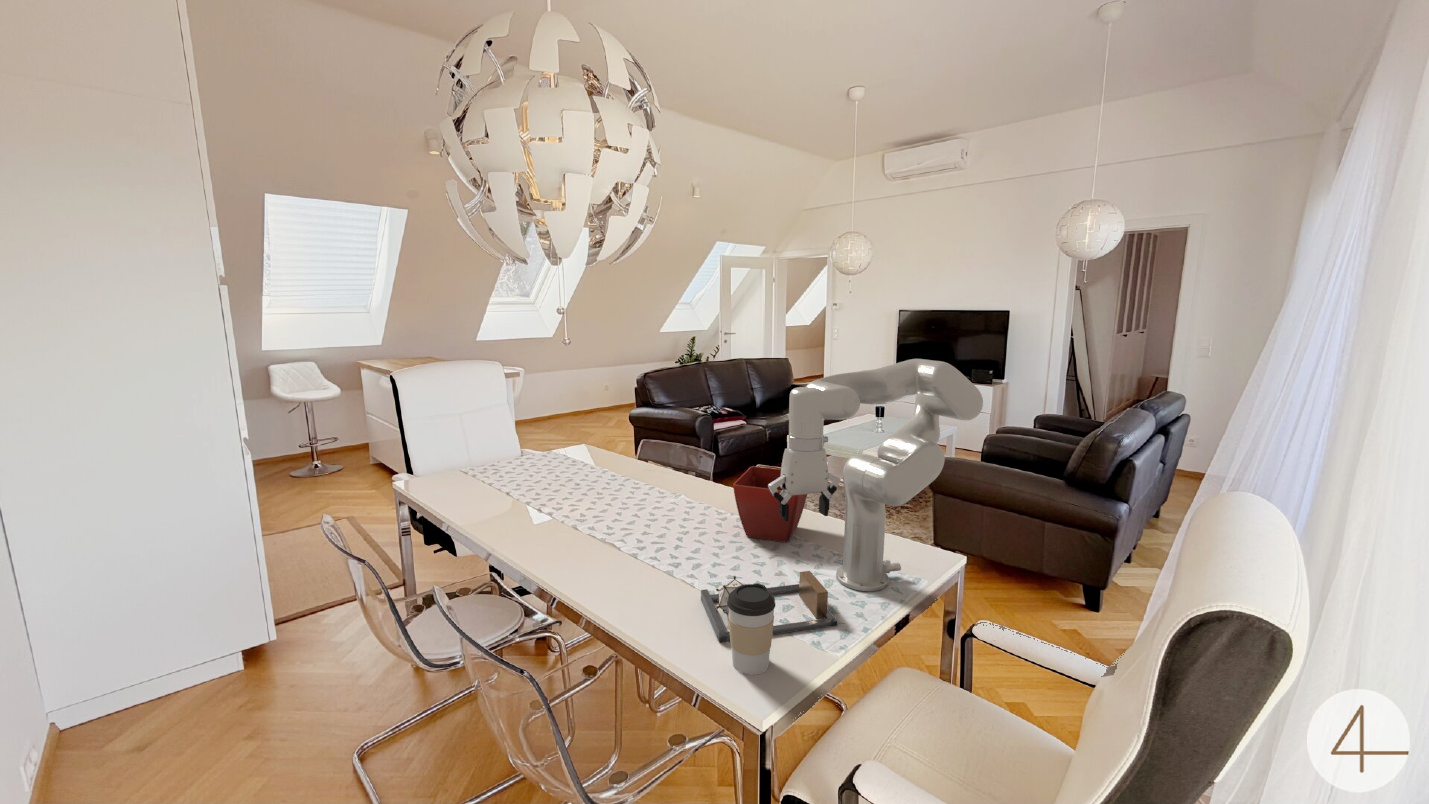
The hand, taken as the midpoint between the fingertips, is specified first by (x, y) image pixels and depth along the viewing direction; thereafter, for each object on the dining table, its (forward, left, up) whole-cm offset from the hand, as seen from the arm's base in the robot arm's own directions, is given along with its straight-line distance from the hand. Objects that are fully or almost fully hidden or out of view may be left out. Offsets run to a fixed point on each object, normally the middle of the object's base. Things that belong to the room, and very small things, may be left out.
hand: (804, 516), depth 131 cm
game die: (+17, +3, -20) cm, 27 cm away
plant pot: (-6, -38, -20) cm, 43 cm away
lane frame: (+10, +4, -20) cm, 23 cm away
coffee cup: (+19, +20, -20) cm, 34 cm away
